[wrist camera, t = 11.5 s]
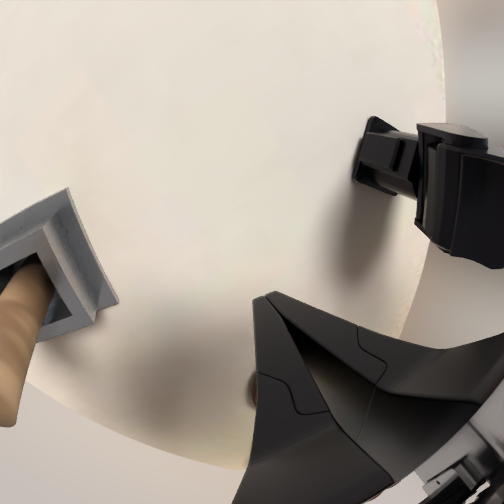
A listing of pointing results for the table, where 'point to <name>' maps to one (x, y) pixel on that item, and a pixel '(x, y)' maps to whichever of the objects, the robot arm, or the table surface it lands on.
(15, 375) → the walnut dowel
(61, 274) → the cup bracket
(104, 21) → the table surface
